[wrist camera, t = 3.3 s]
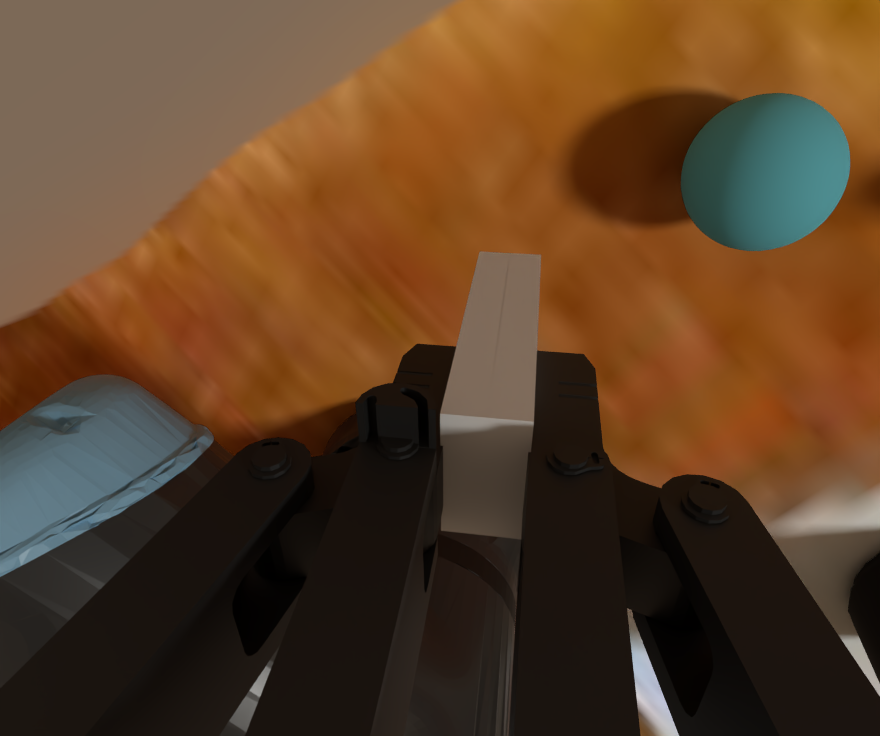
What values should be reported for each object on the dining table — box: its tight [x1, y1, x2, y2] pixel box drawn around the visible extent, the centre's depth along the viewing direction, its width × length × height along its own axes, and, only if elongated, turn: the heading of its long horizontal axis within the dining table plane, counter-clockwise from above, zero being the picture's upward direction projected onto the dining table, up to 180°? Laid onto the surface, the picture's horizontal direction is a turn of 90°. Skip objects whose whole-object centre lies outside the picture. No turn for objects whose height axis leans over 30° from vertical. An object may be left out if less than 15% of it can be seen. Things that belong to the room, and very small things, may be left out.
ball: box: [681, 93, 850, 251], centre depth 25 cm, size 6×6×6 cm
